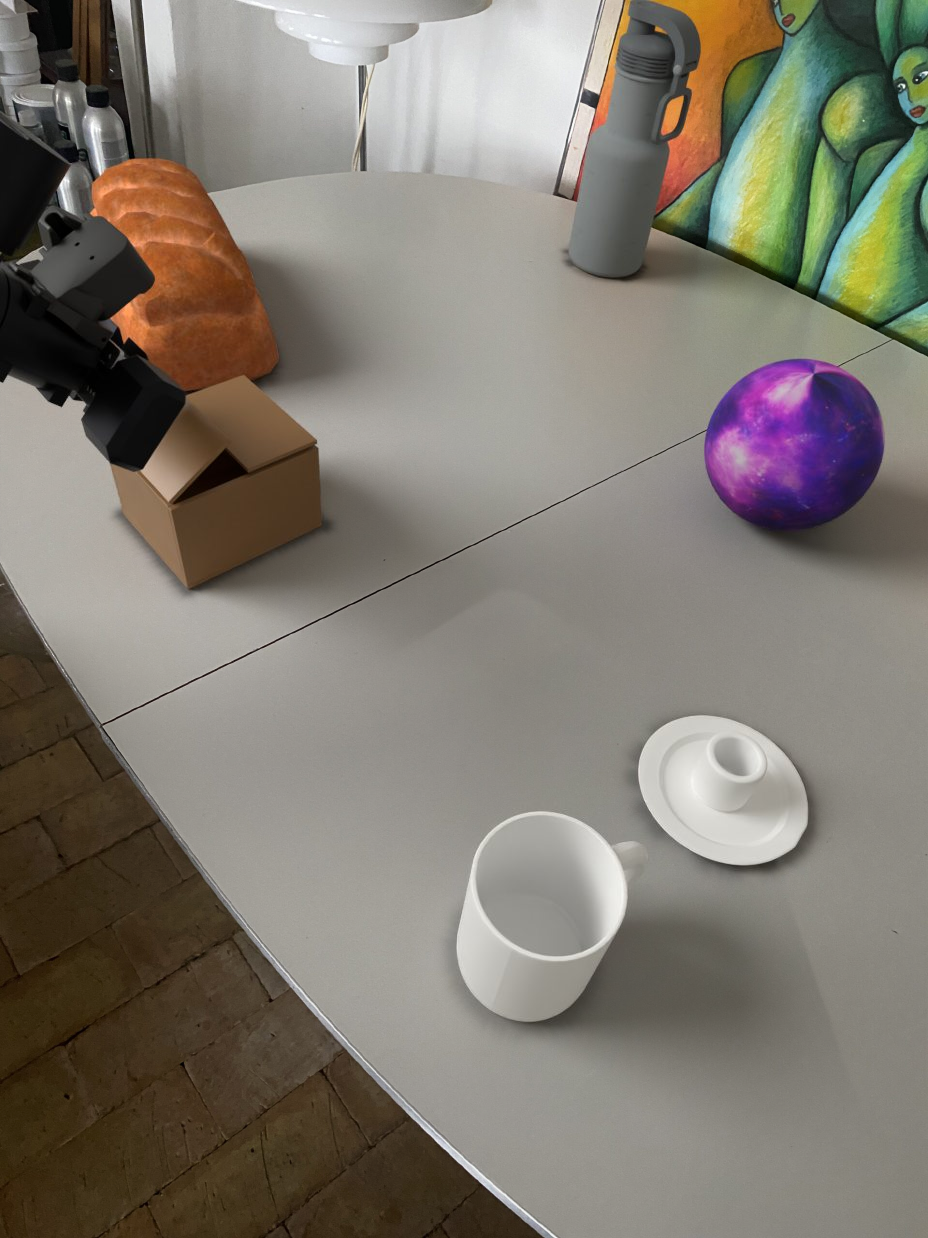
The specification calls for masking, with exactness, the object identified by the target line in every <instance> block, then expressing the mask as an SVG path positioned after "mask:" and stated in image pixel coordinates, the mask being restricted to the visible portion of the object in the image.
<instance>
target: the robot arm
mask: <svg viewBox="0 0 928 1238" xmlns="http://www.w3.org/2000/svg"><path fill="white" fill-rule="evenodd" d="M71 166H72V164H71V163H70V162H69V161H68V160H67V159H66V158H65V157H64V156H62V155H61V154H59V153H58V152H57V151H56V150H55V149H53V148H52V147H51V146H49V145H48V144H47V143H46V142H44V141H42V140H41V139H40V138H39V137H38V136H36V135H35V134H33V133H32V132H31V131H29V130H28V129H27V128H25V127H23V125H21V124H20V123H18V122H17V121H16V120H14V119H13V118H11V117H10V116H8V115H7V114H6V113H4V112H3V111H2V110H0V253H1V254H4V255H6V256H8V257H12V258H13V256H14V254H15V253H16V251H17V250H18V251H22V250H23V248H24V246H25V245H26V243H27V242H28V240H29V238H30V236H31V234H32V233H33V231H34V229H35V228H36V226H37V225H38V226H37V227H38V230H39V235H40V238H41V242H42V245H43V247H41V248H40V249H39V250H38V252H39V254H40V256H42V258H43V259H41V260H40V259H39V258H38V259H33V260H30V261H25V262H21V263H19V264H18V263H16V262H14V261H12V260H11V261H9V263H6V262H4V261H3V260H1V261H0V383H2V384H3V383H5V380H6V379H7V377H8V376H9V377H11V378H13V379H16V380H18V381H21V382H23V383H25V384H28V385H30V386H32V387H34V388H35V389H36V390H37V391H38V392H39V393H40V395H42V397H43V398H44V399H45V400H46V401H47V402H48V403H50V404H52V405H55V406H58V407H60V408H63V406H64V405H65V403H66V401H67V400H68V399H69V398H70V399H71V400H72V401H75V402H83V403H84V404H85V406H84V407H83V409H82V412H83V413H84V414H83V415H82V417H81V418H80V421H81V424H82V428H83V431H84V435H85V437H86V438H87V439H88V441H90V442H91V444H92V445H93V446H94V447H95V448H96V450H98V452H99V453H100V454H101V455H102V456H103V457H104V458H105V459H106V460H107V462H108V463H109V465H110V464H113V465H116V466H118V467H121V468H124V469H127V470H129V471H132V472H136V471H140V470H143V468H144V467H145V465H146V464H147V462H148V461H149V459H150V458H151V456H152V455H153V453H154V451H155V450H156V448H157V447H158V445H159V444H160V442H161V441H162V439H163V438H164V436H165V434H166V433H167V431H168V430H169V428H170V427H171V425H172V424H173V422H174V421H175V419H176V417H177V416H178V414H179V413H180V411H181V410H182V408H183V407H184V405H185V403H186V395H187V393H186V392H187V391H184V390H183V389H182V388H181V387H180V386H179V385H178V384H177V383H176V382H175V381H174V380H173V379H172V378H171V377H170V376H169V375H168V374H167V373H166V372H164V371H163V370H161V369H160V368H158V367H157V366H156V365H154V364H153V363H151V362H150V361H149V358H148V356H147V354H146V353H145V352H144V351H143V350H142V349H141V348H140V347H139V346H138V345H137V344H136V343H135V342H134V341H133V340H132V339H131V338H129V337H128V339H127V340H126V342H125V343H123V339H122V335H121V331H120V328H119V327H118V326H117V325H116V324H115V323H114V322H113V321H112V320H111V319H110V318H111V317H113V316H114V315H115V314H116V313H117V312H119V311H120V310H121V309H122V308H123V307H125V306H126V305H127V304H128V303H129V302H131V301H132V300H133V299H134V298H135V297H137V296H138V295H139V294H145V293H146V292H147V291H148V290H149V289H150V288H151V287H152V286H153V284H154V282H155V275H154V274H153V272H152V271H151V270H150V268H149V267H148V266H147V264H146V263H145V261H144V260H143V259H142V257H141V256H140V255H139V253H138V252H137V250H136V249H135V248H134V246H133V245H132V244H131V242H130V241H129V239H128V238H127V237H126V236H125V235H124V234H123V233H122V232H120V231H119V230H118V229H117V228H116V227H115V226H113V225H112V224H111V223H110V222H109V221H108V220H106V219H105V218H104V217H102V216H94V217H93V216H92V215H91V214H90V213H91V212H89V211H85V212H84V213H83V214H82V216H83V218H84V219H85V220H83V219H81V218H80V217H78V216H77V215H75V214H74V213H73V212H70V211H67V210H66V209H64V208H61V207H60V206H57V205H55V204H53V205H50V206H49V204H50V202H51V201H52V199H53V197H54V195H55V194H56V193H57V190H58V189H59V187H60V185H61V184H62V181H63V180H64V178H65V176H66V175H67V173H68V172H69V170H70V169H71ZM48 206H49V207H48ZM47 207H48V208H47Z"/></svg>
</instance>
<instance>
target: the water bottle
mask: <svg viewBox="0 0 928 1238" xmlns="http://www.w3.org/2000/svg"><path fill="white" fill-rule="evenodd" d="M627 16H628V17H629V21H628V25H627V29H626V33H623V34H622V35H621V36H620V37H619V41H618V46H617V51H616V52H617V53H616V57H615V63H614V65H613V68H614V71H615V72H614V73H615V74H614V78H613V84H612V89H611V94H610V99H609V104H608V109H607V114H606V119H605V123H604V124H602V125H600V126H597V128H596V129H595V130H594V131H592V133H591V134H590V136H589V139H588V142H587V145H586V152H585V155H584V163H583V167H582V172H581V173H582V174H581V178H580V183H579V189H578V195H577V199H576V205H575V211H574V215H573V222H572V227H571V232H570V239H569V244H568V257H569V259H570V261H571V262H572V263H573V265H575V266H576V267H577V268H578V269H579V270H581V271H583V272H586V273H588V274H589V275H594V276H596V277H602V278H614V279H615V278H624V277H629V276H631V275H633V274H635V273H636V272H637V271H639V269H640V268H641V267H642V265H643V263H644V258H645V255H646V250H647V246H648V242H649V240H650V239H649V238H650V234H651V230H652V227H653V223H654V218H655V215H656V211H657V207H658V202H659V199H660V195H661V191H662V187H663V183H664V179H665V175H666V171H667V168H668V162H669V159H670V153H671V152H670V151H671V149H670V145H669V142H670V141H672V140H674V139H677V138H678V137H680V135H681V134H682V131H683V130H684V127H685V124H686V121H687V116H688V114H689V110H690V109H689V108H690V104H691V100H692V98H693V91H692V89H691V88H689V87H687V85H688V82H689V77H690V74H691V72H694V71H696V70H697V69H698V67H699V63H700V59H701V53H702V47H701V46H702V44H701V38H700V34H699V30H698V29H697V26H696V24H695V23H694V21H693V20H692V18H690V16H689V15H688V14H686V13H685V12H684V11H682V10H679V9H677V8H674V7H671V6H668V5H665V4H662V3H659V2H657V1H653V0H630V1H629V5H628V10H627ZM656 27H657V28H659V29H661V30H662V31H663V32H662V31H658V30H656ZM680 97H683V100H682V104H681V109H680V112H679V116H678V120H677V123H676V125H675V127H674V129H673V130H672V131H670V132H669V133H665V134H662V129H663V124H664V122H665V117H666V113H667V112H666V111H667V109H668V105H669V104H670V102H671V101H673V100H675V99H678V98H680Z"/></svg>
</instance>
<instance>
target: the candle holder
mask: <svg viewBox="0 0 928 1238" xmlns="http://www.w3.org/2000/svg"><path fill="white" fill-rule="evenodd" d="M637 768H638V770H637V771H638V772H637V773H638V774H637V775H638V783H639V784H638V785H639V789H640V792H641V795H642V798H643V800H644V802H645V803H644V804H645V805H646V806H647V809H648V810H649V812H650V813H651V815H652V817H653V818H654V819H655V821H656V822H657V823H658V824H659V826H660V827H661V828H662V829H663V830H664V831H665V833H667V834H668V835H669V836H670V837H671V838H672V839H673V840H674V841H676V842H677V843H678V844H680V845H681V846H683V847H685V848H686V849H687V850H690V851H691V852H693V853H695V854H696V855H699V856H701V857H703V858H706V859H709V860H711V861H714V862H717V863H722V864H725V865H733V866H754V865H760V864H764V863H768V862H771V861H774V860H775V859H778V858H780V857H782V856H783V855H786V854H787V853H789V852H790V851H791V850H793V849H795V848H796V846H797V845H798V843H799V841H800V839H801V838H802V836H803V834H804V832H805V831H806V829H807V826H808V824H809V823H808V822H809V821H808V820H809V819H808V818H809V804H808V796H807V792H806V788H805V785H804V782H803V779H802V778H801V776H800V774H799V772H798V770H797V768H796V767H795V765H794V764H793V762H792V761H791V759H790V758H789V757H788V755H786V754H785V752H784V751H783V750H782V749H780V747H779V746H778V745H777V744H775V743H774V741H772V740H771V739H769V737H767V736H765V735H764V734H762V733H761V732H759V731H757V730H756V729H754V728H752V727H750V726H748V725H746V724H744V723H741V722H738V721H736V720H733V719H730V718H726V717H723V716H715V715H705V714H704V715H703V714H702V715H701V714H700V715H689V716H684V717H680V718H676V719H673V720H671V721H669V722H668V723H665V724H664V725H662V726H660V727H659V728H658V729H657V730H655V732H654V733H652V735H651V736H650V737H649V738H648V740H647V741H646V742H645V744H644V746H643V748H642V750H641V753H640V756H639V761H638V767H637Z"/></svg>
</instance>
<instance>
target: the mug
mask: <svg viewBox="0 0 928 1238" xmlns="http://www.w3.org/2000/svg"><path fill="white" fill-rule="evenodd" d="M647 850H648V849H647V848H646V847H645V846H644V845H643V844H641V843H640V842H637V841H635V840H631V841H622V842H619V843H616V844H613V845H610V844H609V842H608V841H607V840H606V839H605V838H604V837H603V836H602V835H601V834H600V833H599V832H598V831H596V830H595V829H594V828H593V827H591V826H590V825H588V824H586V823H585V822H584V821H581V820H579V819H577V818H575V817H572V816H570V815H567V814H562V813H559V812H554V811H544V810H543V811H541V810H540V811H529V812H524V813H520V814H516V815H514V816H511V817H509V818H507V819H506V820H504V821H501V822H500V823H498V825H496V826H495V827H494V828H492V830H490V831H489V832H488V833H487V834H486V836H485V837H484V838H483V840H482V841H481V842H480V844H479V845H478V847H477V849H476V852H475V854H474V857H473V860H472V865H471V868H470V873H469V879H468V881H467V882H468V883H467V886H466V891H465V897H464V902H463V906H462V911H461V916H460V920H459V925H458V929H457V936H456V959H457V963H458V967H459V970H460V973H461V977H462V978H463V981H464V983H465V985H466V986H467V988H468V989H469V991H470V992H471V994H472V995H473V996H474V997H475V999H476V1000H478V1002H479V1003H480V1004H481V1005H483V1006H484V1007H485V1008H487V1010H490V1011H491V1012H493V1013H494V1014H496V1015H498V1016H500V1017H503V1018H505V1019H507V1020H511V1021H516V1022H524V1023H530V1022H531V1023H534V1022H540V1021H541V1022H542V1021H545V1020H548V1019H550V1018H554V1017H555V1016H558V1015H560V1014H562V1013H563V1012H564V1011H566V1010H567V1009H568V1008H570V1007H571V1006H572V1005H573V1004H574V1003H575V1002H576V1001H577V1000H578V999H579V997H580V996H581V995H582V994H583V992H584V991H585V989H586V987H587V986H588V984H589V982H590V981H591V979H592V977H593V975H594V973H595V972H596V970H597V968H598V966H599V964H600V963H601V961H602V959H603V957H604V956H605V955H606V952H607V951H608V949H609V947H610V945H611V944H612V942H613V940H614V938H615V936H616V935H617V933H618V931H619V929H620V927H621V926H622V924H623V921H624V918H625V916H626V912H627V907H628V897H629V893H628V892H629V891H630V890H631V888H633V887H634V886H635V884H636V883H637V882H638V880H639V879H640V878H641V877H642V875H643V874H644V873H645V870H646V869H647V866H648V863H649V853H648V851H647Z"/></svg>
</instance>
